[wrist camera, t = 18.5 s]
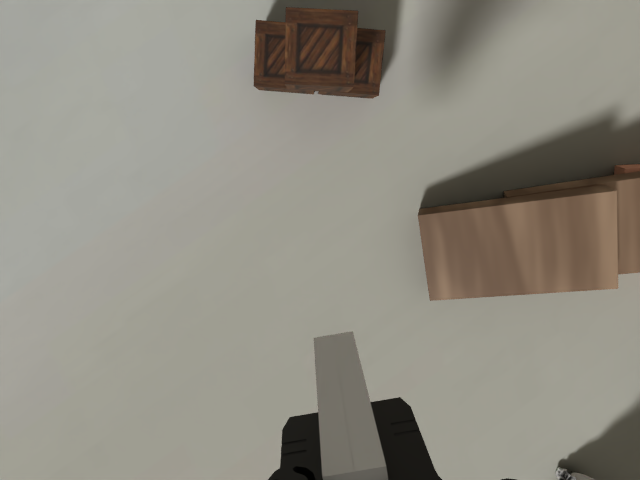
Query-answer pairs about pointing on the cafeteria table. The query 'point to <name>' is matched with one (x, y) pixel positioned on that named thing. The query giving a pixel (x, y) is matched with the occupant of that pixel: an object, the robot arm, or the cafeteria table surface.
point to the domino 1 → (522, 244)
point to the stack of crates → (318, 54)
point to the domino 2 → (632, 212)
